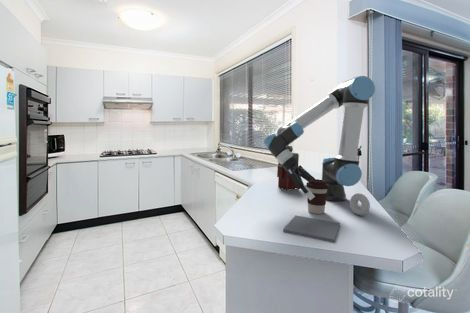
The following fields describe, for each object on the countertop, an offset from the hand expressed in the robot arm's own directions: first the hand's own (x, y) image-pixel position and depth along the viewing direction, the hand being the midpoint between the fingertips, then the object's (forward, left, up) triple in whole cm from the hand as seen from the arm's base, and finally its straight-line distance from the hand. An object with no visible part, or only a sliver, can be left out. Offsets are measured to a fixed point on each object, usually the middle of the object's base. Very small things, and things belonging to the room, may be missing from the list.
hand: (316, 195), depth 118 cm
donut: (-16, +10, -8) cm, 21 cm away
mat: (+15, +16, -8) cm, 23 cm away
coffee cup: (0, 0, -8) cm, 8 cm away
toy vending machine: (-14, -46, -8) cm, 49 cm away
